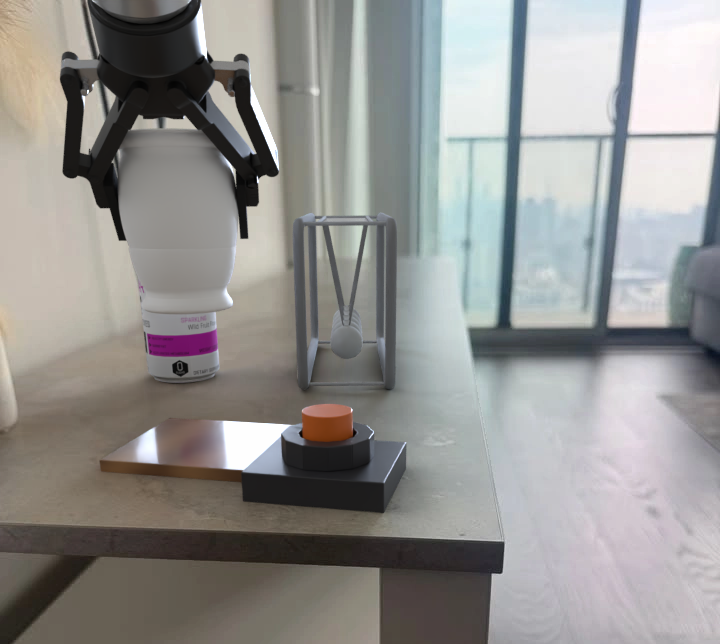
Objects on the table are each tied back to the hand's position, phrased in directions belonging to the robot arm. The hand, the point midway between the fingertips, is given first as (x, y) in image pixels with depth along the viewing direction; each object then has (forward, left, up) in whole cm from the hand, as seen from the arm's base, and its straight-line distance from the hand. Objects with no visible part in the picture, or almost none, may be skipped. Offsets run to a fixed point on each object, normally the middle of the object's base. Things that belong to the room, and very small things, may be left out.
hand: (184, 228), depth 70 cm
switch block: (+19, -19, -17) cm, 32 cm away
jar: (+1, -3, -7) cm, 8 cm away
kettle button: (+19, -19, -13) cm, 30 cm away
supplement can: (-7, +12, -17) cm, 22 cm away
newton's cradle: (+10, +22, -17) cm, 30 cm away
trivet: (+7, -14, -17) cm, 23 cm away
